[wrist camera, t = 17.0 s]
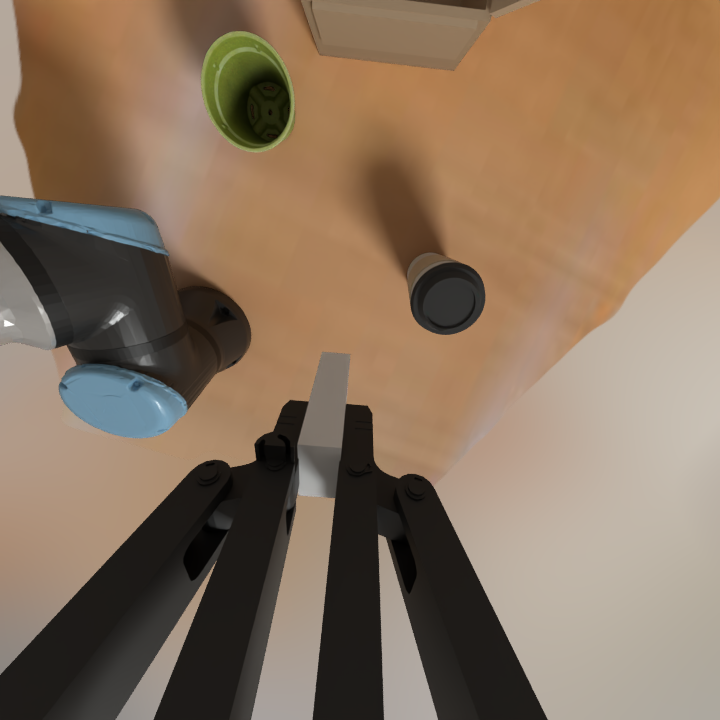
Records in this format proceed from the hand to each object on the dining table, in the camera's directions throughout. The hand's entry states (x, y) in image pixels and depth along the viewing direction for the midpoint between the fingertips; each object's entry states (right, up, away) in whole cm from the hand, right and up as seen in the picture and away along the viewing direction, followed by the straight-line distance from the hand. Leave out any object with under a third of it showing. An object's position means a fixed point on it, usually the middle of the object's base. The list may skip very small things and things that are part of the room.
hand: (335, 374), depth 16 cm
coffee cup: (+12, +15, +31) cm, 37 cm away
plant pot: (-10, +32, +22) cm, 40 cm away
